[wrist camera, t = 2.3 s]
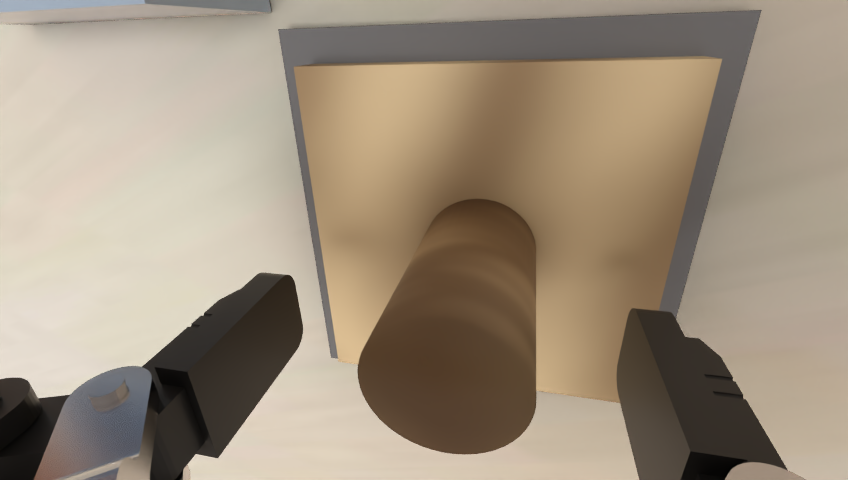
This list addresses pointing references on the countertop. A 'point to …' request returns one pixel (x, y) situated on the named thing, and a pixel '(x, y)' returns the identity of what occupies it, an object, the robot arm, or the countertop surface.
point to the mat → (546, 40)
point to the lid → (496, 226)
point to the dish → (120, 9)
